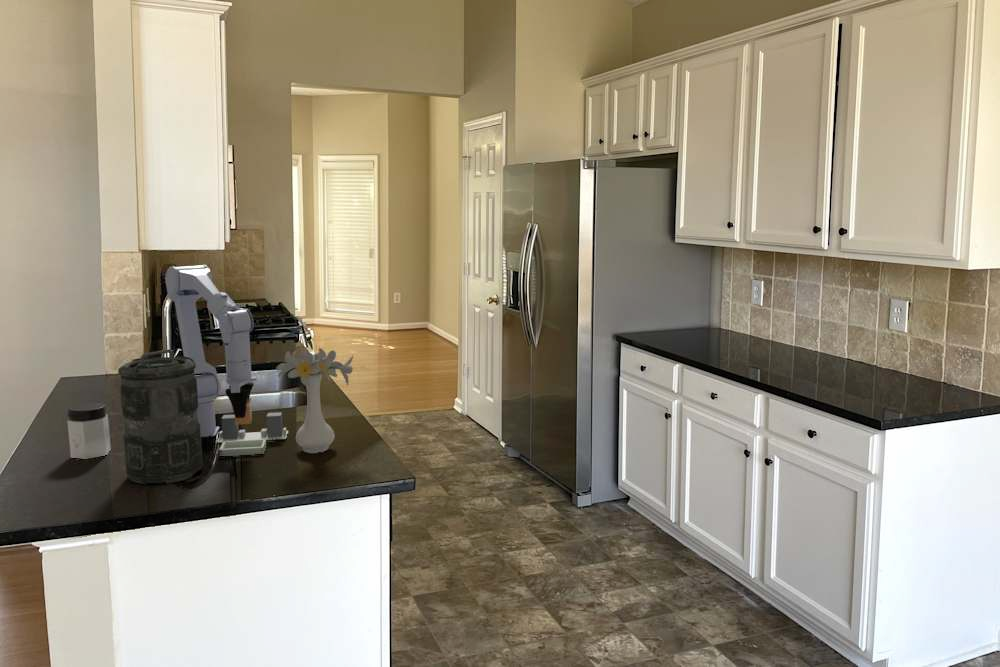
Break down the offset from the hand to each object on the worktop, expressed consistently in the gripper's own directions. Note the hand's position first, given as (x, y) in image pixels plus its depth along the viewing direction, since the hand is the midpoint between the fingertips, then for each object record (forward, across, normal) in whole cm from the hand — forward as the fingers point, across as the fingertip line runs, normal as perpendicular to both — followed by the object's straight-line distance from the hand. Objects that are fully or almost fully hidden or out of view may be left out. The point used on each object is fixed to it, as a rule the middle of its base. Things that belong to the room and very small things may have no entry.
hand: (241, 415), depth 197 cm
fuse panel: (+9, +11, -1) cm, 14 cm away
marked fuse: (+2, 0, 0) cm, 2 cm away
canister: (+9, -14, +15) cm, 23 cm away
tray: (+9, 0, 0) cm, 9 cm away
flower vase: (+9, -1, -18) cm, 20 cm away
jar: (+9, +4, +36) cm, 37 cm away
